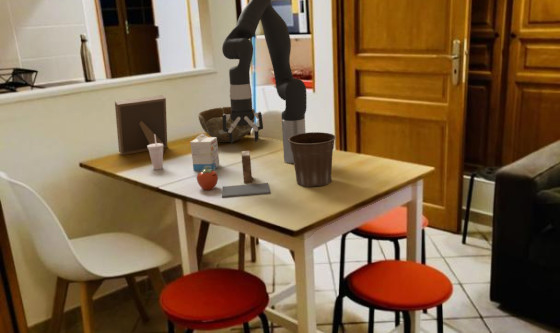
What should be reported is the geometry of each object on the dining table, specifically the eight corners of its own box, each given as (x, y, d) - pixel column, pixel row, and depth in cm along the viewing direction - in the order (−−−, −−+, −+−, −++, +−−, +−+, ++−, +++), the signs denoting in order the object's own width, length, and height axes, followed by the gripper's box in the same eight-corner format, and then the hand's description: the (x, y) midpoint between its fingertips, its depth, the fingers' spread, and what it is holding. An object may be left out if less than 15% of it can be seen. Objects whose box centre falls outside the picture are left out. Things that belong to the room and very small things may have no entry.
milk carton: (213, 170, 204) (209, 137, 200) (193, 170, 206) (189, 137, 202) (219, 164, 212) (216, 132, 208) (200, 164, 214) (197, 132, 210)
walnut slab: (251, 176, 193) (249, 150, 190) (252, 182, 187) (250, 155, 184) (243, 177, 193) (241, 151, 190) (243, 183, 186) (241, 155, 184)
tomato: (215, 191, 179) (213, 169, 176) (194, 191, 180) (192, 169, 178) (221, 185, 186) (219, 163, 183) (201, 185, 187) (199, 163, 185)
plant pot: (323, 192, 172) (321, 144, 167) (282, 186, 180) (279, 141, 176) (344, 178, 185) (343, 133, 181) (305, 173, 194) (303, 130, 189)
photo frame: (119, 153, 240) (111, 99, 233) (164, 145, 251) (158, 93, 244) (128, 160, 228) (120, 103, 221) (175, 151, 239) (169, 97, 231)
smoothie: (169, 166, 214) (165, 133, 210) (159, 170, 208) (155, 136, 204) (156, 165, 216) (152, 132, 213) (146, 169, 211) (142, 136, 207)
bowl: (234, 150, 232) (231, 117, 228) (189, 145, 247) (186, 114, 243) (268, 137, 254) (266, 107, 250) (225, 133, 269) (223, 104, 265)
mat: (268, 184, 183) (268, 182, 183) (270, 193, 174) (269, 191, 173) (222, 188, 182) (222, 186, 182) (222, 197, 172) (221, 195, 172)
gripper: (260, 94, 186) (263, 138, 190) (220, 96, 185) (224, 140, 189) (261, 97, 178) (264, 143, 183) (220, 99, 178) (223, 145, 182)
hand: (243, 141), depth 186 cm, fingers open, 8 cm apart
